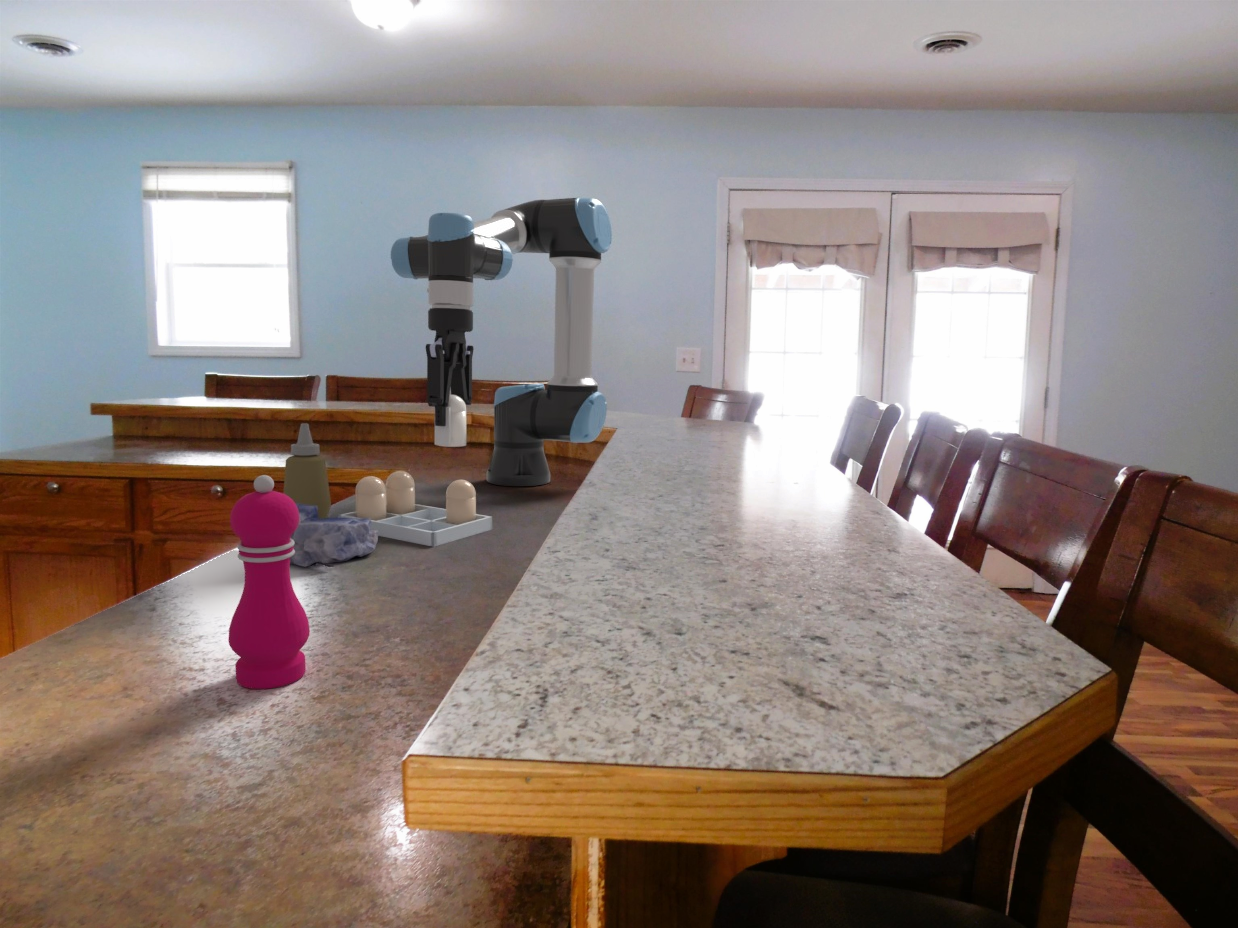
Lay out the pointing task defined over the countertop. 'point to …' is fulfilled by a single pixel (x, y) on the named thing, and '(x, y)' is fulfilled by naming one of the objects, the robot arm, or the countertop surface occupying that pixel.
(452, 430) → the egg
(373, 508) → the brown egg
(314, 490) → the squeeze bottle
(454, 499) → the brown egg
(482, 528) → the carton
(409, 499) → the brown egg
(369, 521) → the mineral
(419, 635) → the countertop surface
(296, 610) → the pepper mill
